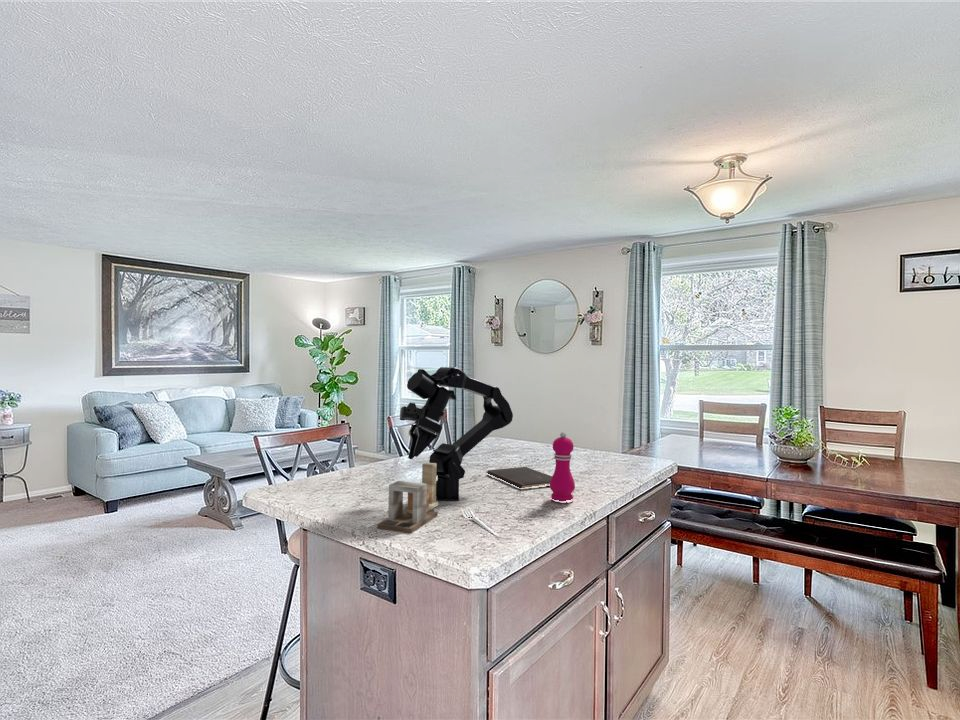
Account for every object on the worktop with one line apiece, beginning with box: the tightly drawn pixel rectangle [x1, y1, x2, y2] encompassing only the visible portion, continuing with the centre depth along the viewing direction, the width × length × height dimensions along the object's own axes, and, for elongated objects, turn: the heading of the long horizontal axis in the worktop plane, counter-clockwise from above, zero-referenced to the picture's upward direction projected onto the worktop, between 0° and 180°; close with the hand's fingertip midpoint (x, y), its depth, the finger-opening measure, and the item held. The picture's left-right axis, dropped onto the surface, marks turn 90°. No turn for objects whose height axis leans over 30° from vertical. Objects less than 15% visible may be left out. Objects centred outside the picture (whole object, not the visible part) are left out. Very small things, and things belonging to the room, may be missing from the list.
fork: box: [460, 507, 499, 536], centre depth 126 cm, size 3×20×2 cm, turn 25°
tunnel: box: [376, 480, 439, 534], centre depth 127 cm, size 14×9×9 cm, turn 160°
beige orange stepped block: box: [406, 462, 439, 514], centre depth 134 cm, size 10×4×11 cm, turn 160°
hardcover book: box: [486, 466, 553, 488], centre depth 174 cm, size 16×23×2 cm
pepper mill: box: [549, 431, 576, 501], centre depth 149 cm, size 7×7×20 cm
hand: (412, 457), depth 141 cm, fingers open, 9 cm apart
